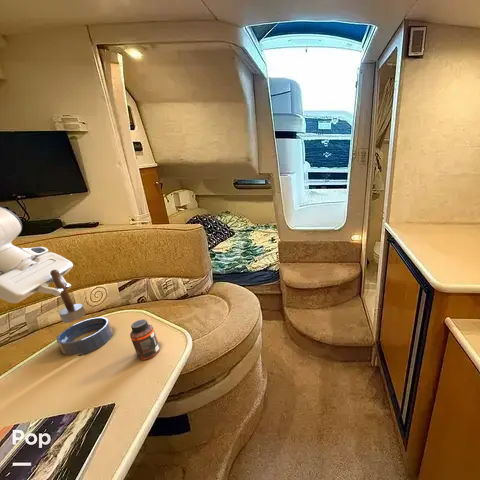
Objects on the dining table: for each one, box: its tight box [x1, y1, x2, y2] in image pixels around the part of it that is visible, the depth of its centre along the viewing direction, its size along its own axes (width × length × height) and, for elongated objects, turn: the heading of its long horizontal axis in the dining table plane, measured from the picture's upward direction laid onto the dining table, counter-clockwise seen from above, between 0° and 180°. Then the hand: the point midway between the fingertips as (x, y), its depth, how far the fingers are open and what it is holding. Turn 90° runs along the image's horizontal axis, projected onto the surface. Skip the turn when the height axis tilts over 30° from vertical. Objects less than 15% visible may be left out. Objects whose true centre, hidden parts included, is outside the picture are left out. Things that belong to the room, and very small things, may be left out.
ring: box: [56, 316, 114, 357], centre depth 89 cm, size 13×13×6 cm
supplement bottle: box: [129, 318, 161, 361], centre depth 81 cm, size 6×6×11 cm
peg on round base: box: [50, 270, 87, 323], centre depth 81 cm, size 6×6×16 cm
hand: (65, 290), depth 80 cm, fingers closed on peg on round base
